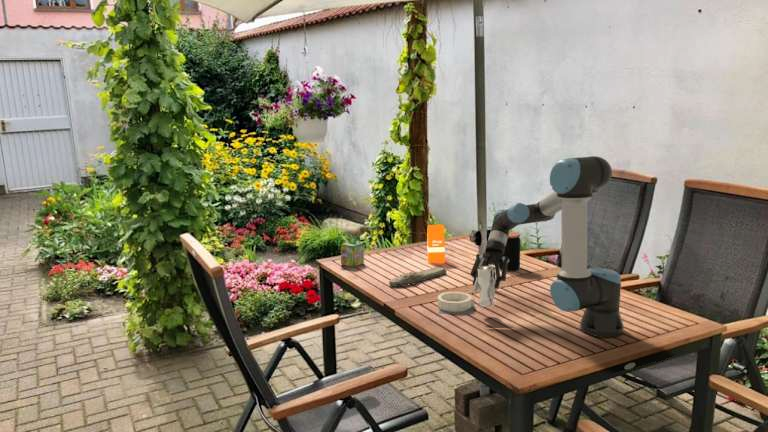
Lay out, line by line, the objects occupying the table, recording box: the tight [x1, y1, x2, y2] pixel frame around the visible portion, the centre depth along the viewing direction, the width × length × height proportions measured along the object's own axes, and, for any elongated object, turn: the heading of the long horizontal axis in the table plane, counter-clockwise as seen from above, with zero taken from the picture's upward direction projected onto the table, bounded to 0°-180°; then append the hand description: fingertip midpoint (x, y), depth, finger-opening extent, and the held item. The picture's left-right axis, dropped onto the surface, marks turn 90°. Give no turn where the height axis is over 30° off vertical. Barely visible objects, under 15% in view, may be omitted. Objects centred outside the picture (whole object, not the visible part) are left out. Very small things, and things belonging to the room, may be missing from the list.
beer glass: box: [477, 265, 496, 308], centre depth 235 cm, size 7×7×15 cm
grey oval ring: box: [438, 299, 475, 315], centre depth 249 cm, size 18×14×1 cm
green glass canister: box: [340, 236, 365, 267], centre depth 318 cm, size 9×9×15 cm
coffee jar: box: [499, 231, 521, 272], centre depth 301 cm, size 11×11×18 cm
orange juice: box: [426, 224, 446, 264], centre depth 319 cm, size 8×9×20 cm
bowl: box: [437, 291, 473, 312], centre depth 248 cm, size 14×14×4 cm
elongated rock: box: [388, 267, 447, 287], centre depth 289 cm, size 35×5×10 cm
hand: (483, 293), depth 232 cm, fingers closed on beer glass, 6 cm apart
